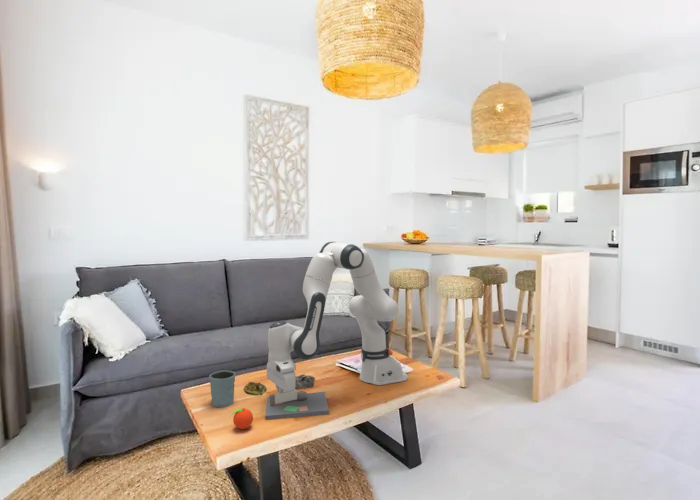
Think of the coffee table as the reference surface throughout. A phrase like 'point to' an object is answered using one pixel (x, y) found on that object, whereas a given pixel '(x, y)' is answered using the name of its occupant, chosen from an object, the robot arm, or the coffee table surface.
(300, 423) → the coffee table surface
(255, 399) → the coffee table surface
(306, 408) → the dial board
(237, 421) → the clementine
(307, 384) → the fossil rock
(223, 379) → the grey-green cup
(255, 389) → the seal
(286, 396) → the control lever
